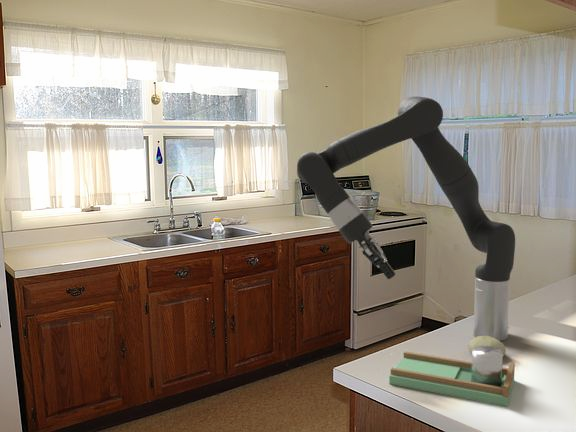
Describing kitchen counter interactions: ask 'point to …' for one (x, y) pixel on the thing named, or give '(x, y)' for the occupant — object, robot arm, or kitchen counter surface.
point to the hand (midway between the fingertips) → (392, 276)
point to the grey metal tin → (486, 365)
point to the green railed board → (449, 378)
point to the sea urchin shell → (486, 343)
